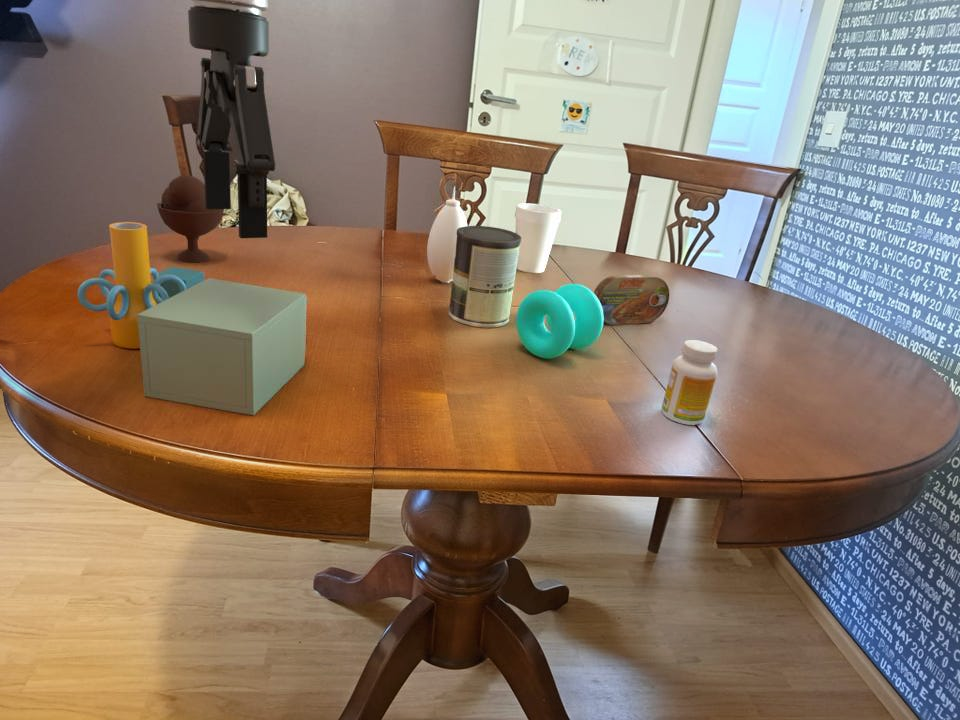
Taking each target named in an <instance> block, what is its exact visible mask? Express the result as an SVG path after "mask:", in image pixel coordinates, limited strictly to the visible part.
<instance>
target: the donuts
mask: <svg viewBox="0 0 960 720" xmlns="http://www.w3.org/2000/svg"><path fill="white" fill-rule="evenodd" d="M545 320H546V324H545ZM604 323H605V322H604V316H603V310H602V306H601V304H600V301H599V300H598V298H597V297H596V295H595V294H594V291H592V290H591V289H589V288H588V287H587V286H585V285H582V284H579V283H567V284H563V285H561V286H559V287H558V288H557V289H555V290H554V291H553V290H548V289H538V290H534V291H532V292H530V293H529V294H527V295H526V296H525V297H524V298H523V299H522V301H521V302H520V304H519V306H518V308H517V311H516V315H515V324H516V331H517V334H518V337H519V340H520V341H521V343H522V345H523V346H524V347H525V349H526V350H527V351H528V352H529V353H531V354H532V355H534V356H536V357H537V358H540V359H547V360H548V359H549V360H550V359H554V358H558V357H560V356H562V355H563V354H564V353H566V352H567V350H569V349H571V350H582V349H586V348H589V347H590V346H592V345H593V344H594V343H595V342H597V340H598V338H599V337H600V335H601V333H602V330H603V327H604ZM546 325H547V327H546Z"/></svg>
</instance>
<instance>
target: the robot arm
mask: <svg viewBox="0 0 960 720" xmlns="http://www.w3.org/2000/svg"><path fill="white" fill-rule="evenodd" d="M191 1H193V6H190V7H189V9H187V18H188V19H187V20H188V37H189V39H188V40H189V45H191V47H192V48H194V49H197V50H204V51H210V54H211V55H210V58H208V57H202V58H201V60H200V67H201V81H200V94H199V95H200V96H199V109H198V121H197V123H198V124H197V134H196V138H197V141H198V142H199V143H200V146H201V148H202V150H203V152H202V157H203V178H204V185H205V203H206V209H224V210H232V199H231V197H232V195H231V166H230V165H231V163H230V161H231V160H230V152H233V147H232V143H231V141H229V137H230V132H231V133H232V136H233V140H234V145H235V149H236V154H237V157H238V164H235V166H234V169H233V173H234V174H235V175H237V211H238V214H237V215H238V237H239V238H240V239H264V238H266V239H268V175H269V173H270V172H275V170H276V162H275V155H274V148H273V141H272V133H271V129H270V121H269V115H268V109H267V101H266V94H265V78H264V77H265V72H264V69H263V67H262V66H254V65H252V62H251V57H252V56H254V57H262V58H264V57H267V56H268V55H269V52H270V47H269V46H270V45H269V44H270V42H269V41H270V40H269V39H270V38H269V37H270V35H269V33H270V30H269V25H270V24H269V21H268V20H267V17H264V16H263V15H262V14H263V13H262V12H266V11H267V10H268V9H269V0H191Z"/></svg>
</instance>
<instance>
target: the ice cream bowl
mask: <svg viewBox="0 0 960 720" xmlns="http://www.w3.org/2000/svg"><path fill="white" fill-rule="evenodd" d="M156 207H157V210H158V213H159V216H160V218H161V219H162V222H163V223H164V224H165V225H166V226H167V227H168V228H169V229H170V230H171V231H173V232H174V233H176V234H178V235H181V236H183V237H185V238H186V240H187V248H186V249H185V250H182V251H181V252H179V253H178V254H177V256H176V258H177V260H178V261H181V262H184V263H196V264H197V263H202V262H203V263H204V262H207V261H209V260H210V257H209V254H208V253H207V252H205V251H203V250H201V249H199V242H198V241H199V238H200V237H202V236H204V235H207V234H209V233H210V232H212V231H214V230H215V229H216V228H217V227H218V225H220V224H221V222H222V219H223V218H224V213H225V209H206V203H205V182H203V181H201V180H200V179H199V178H197V177H196V176H192V175H188V174H187V175H186V174H183V175H182V174H181V175H179V176H177V177H176V178H173V179H171V181H170V182H169V184H168V186H167V187H166V188H165V189H164V191H163V193H161V202H158V203H156Z"/></svg>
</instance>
